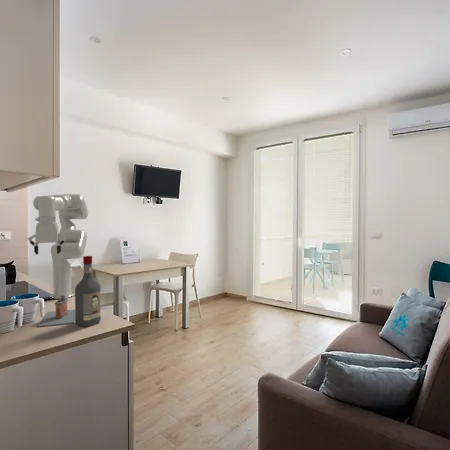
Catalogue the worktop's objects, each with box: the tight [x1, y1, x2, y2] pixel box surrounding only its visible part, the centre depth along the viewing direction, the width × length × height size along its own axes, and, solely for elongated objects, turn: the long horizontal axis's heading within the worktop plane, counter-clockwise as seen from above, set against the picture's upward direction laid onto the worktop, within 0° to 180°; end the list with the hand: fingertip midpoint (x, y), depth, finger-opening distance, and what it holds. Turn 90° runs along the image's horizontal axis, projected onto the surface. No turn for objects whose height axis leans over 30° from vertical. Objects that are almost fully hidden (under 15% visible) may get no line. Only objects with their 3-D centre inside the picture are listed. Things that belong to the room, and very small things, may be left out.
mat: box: [37, 309, 75, 328], centre depth 147 cm, size 20×14×1 cm
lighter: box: [54, 295, 69, 319], centre depth 147 cm, size 8×3×10 cm, turn 0°
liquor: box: [74, 255, 102, 328], centre depth 140 cm, size 9×9×30 cm
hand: (47, 253), depth 160 cm, fingers open, 9 cm apart
